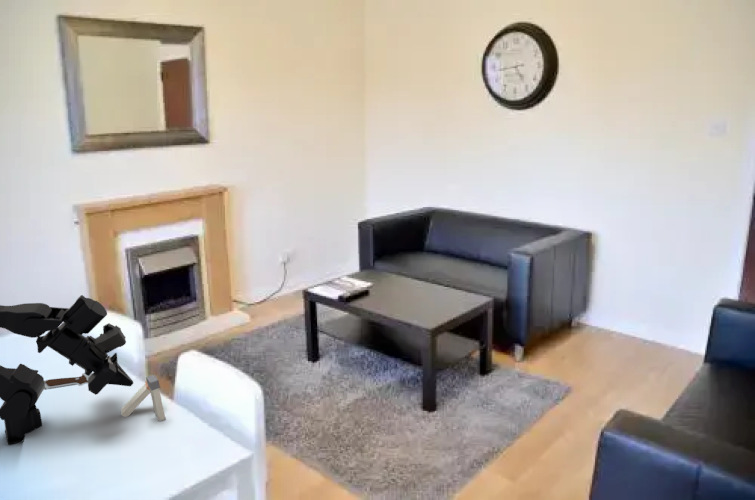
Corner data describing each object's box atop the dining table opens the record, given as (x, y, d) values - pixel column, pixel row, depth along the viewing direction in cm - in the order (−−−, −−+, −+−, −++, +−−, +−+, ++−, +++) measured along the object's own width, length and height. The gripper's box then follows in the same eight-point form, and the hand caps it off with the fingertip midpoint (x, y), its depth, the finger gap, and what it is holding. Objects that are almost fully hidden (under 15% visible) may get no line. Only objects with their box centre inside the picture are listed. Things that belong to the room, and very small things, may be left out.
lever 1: (120, 415, 138) (152, 381, 140) (120, 408, 141) (151, 375, 143) (127, 419, 139) (158, 385, 140) (126, 412, 142) (157, 379, 143)
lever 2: (158, 422, 137) (150, 382, 134) (154, 415, 140) (145, 377, 137) (166, 419, 138) (158, 379, 135) (162, 412, 141) (153, 374, 138)
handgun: (70, 416, 139) (122, 398, 147) (39, 380, 155) (88, 365, 163) (72, 426, 140) (123, 407, 148) (41, 388, 155) (89, 373, 163)
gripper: (100, 334, 125) (160, 374, 132) (100, 305, 142) (153, 342, 149) (62, 375, 124) (124, 413, 131) (66, 341, 140) (121, 377, 148)
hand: (132, 384), depth 140 cm, fingers closed
